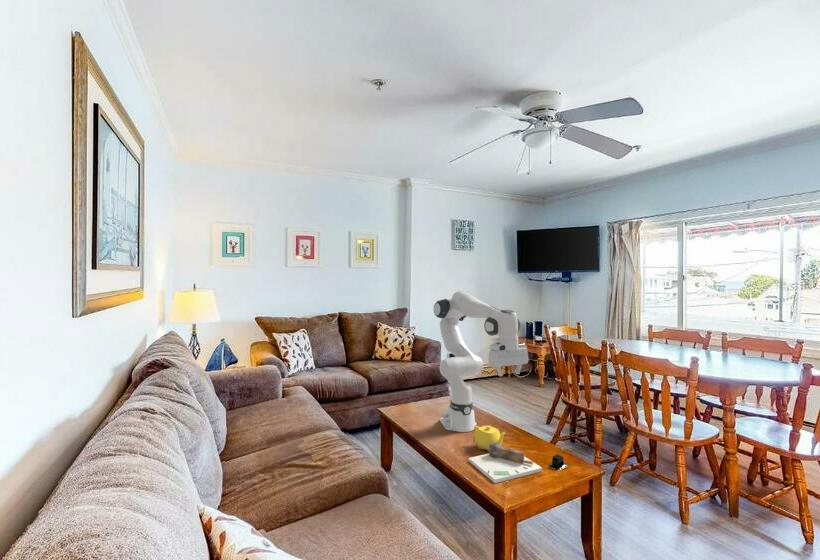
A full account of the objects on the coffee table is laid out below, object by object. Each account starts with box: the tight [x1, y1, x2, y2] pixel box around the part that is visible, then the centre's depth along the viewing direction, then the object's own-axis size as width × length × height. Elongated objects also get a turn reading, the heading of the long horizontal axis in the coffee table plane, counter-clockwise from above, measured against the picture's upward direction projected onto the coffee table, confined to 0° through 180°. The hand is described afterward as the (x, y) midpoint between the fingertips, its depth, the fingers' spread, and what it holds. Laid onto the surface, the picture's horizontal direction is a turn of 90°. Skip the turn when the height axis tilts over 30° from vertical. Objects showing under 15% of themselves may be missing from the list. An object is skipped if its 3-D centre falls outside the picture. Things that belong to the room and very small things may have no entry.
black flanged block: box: [547, 454, 569, 471], centre depth 169 cm, size 12×7×5 cm, turn 126°
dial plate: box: [468, 453, 543, 484], centre depth 169 cm, size 20×24×2 cm
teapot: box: [473, 425, 507, 453], centre depth 186 cm, size 18×11×11 cm, turn 45°
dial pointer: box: [488, 443, 534, 465], centre depth 171 cm, size 20×5×4 cm, turn 58°
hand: (509, 374), depth 179 cm, fingers open, 8 cm apart
